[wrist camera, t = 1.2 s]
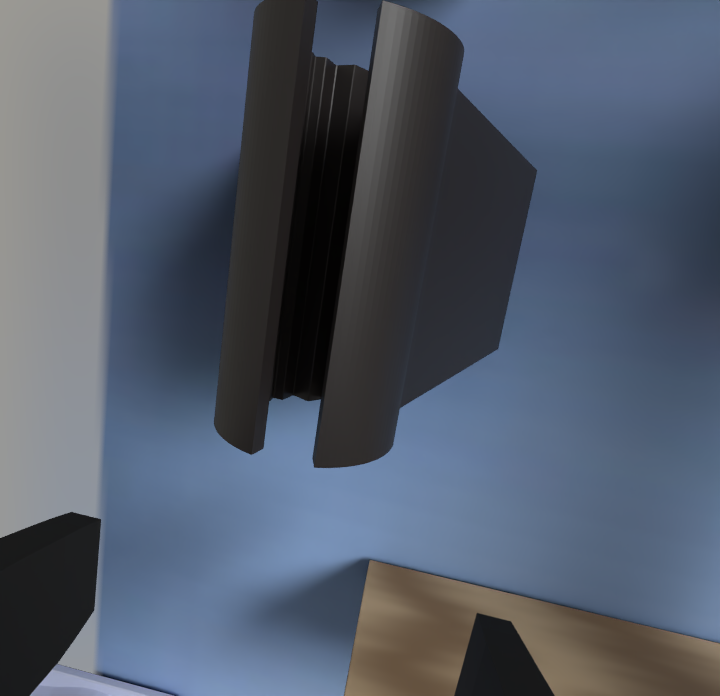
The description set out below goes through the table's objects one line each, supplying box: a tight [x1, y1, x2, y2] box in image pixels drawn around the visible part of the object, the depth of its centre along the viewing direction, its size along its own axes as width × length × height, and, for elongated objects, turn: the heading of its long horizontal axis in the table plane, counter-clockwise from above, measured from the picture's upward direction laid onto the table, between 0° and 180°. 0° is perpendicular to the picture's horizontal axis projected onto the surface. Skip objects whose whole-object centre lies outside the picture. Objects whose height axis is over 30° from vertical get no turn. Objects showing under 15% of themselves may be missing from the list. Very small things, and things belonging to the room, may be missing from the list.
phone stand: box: [214, 0, 537, 468], centre depth 13 cm, size 9×6×12 cm, turn 80°
